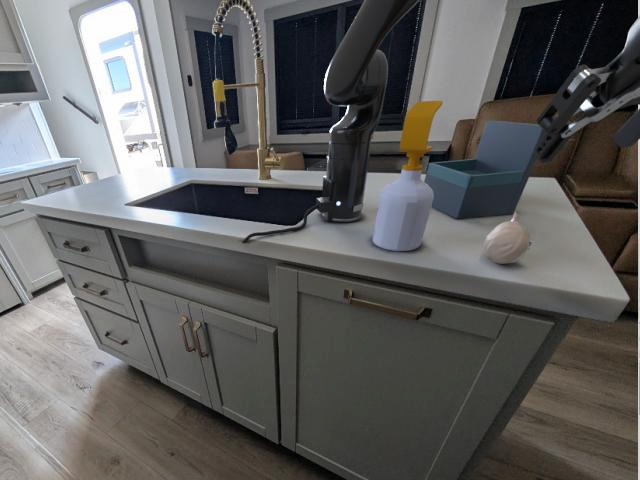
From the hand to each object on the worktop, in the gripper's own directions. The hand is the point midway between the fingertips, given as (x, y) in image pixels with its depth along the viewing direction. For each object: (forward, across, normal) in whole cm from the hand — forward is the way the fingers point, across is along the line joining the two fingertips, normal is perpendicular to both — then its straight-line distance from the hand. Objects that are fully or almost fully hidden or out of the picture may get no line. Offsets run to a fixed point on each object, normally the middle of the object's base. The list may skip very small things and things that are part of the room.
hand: (580, 151), depth 38 cm
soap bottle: (+24, +14, -7) cm, 28 cm away
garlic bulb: (+21, 0, +3) cm, 21 cm away
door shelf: (+36, -9, -22) cm, 43 cm away
